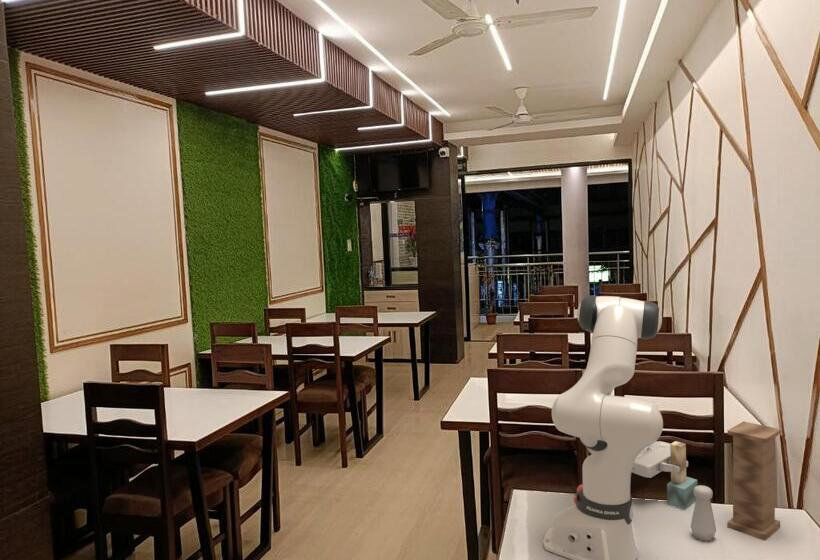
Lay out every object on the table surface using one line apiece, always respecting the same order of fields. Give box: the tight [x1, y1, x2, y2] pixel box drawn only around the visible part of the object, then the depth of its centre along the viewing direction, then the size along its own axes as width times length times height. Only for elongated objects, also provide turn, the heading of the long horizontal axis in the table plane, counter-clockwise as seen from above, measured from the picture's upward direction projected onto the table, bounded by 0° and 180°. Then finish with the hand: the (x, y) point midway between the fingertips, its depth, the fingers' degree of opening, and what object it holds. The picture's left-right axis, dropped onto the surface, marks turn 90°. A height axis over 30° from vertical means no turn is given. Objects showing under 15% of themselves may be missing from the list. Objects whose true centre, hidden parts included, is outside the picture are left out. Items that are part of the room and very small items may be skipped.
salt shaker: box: [690, 484, 717, 542], centre depth 147 cm, size 6×6×13 cm
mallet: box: [666, 440, 699, 511], centre depth 166 cm, size 17×8×5 cm
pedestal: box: [726, 421, 782, 542], centre depth 151 cm, size 9×10×26 cm
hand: (683, 467), depth 165 cm, fingers closed on mallet, 3 cm apart
